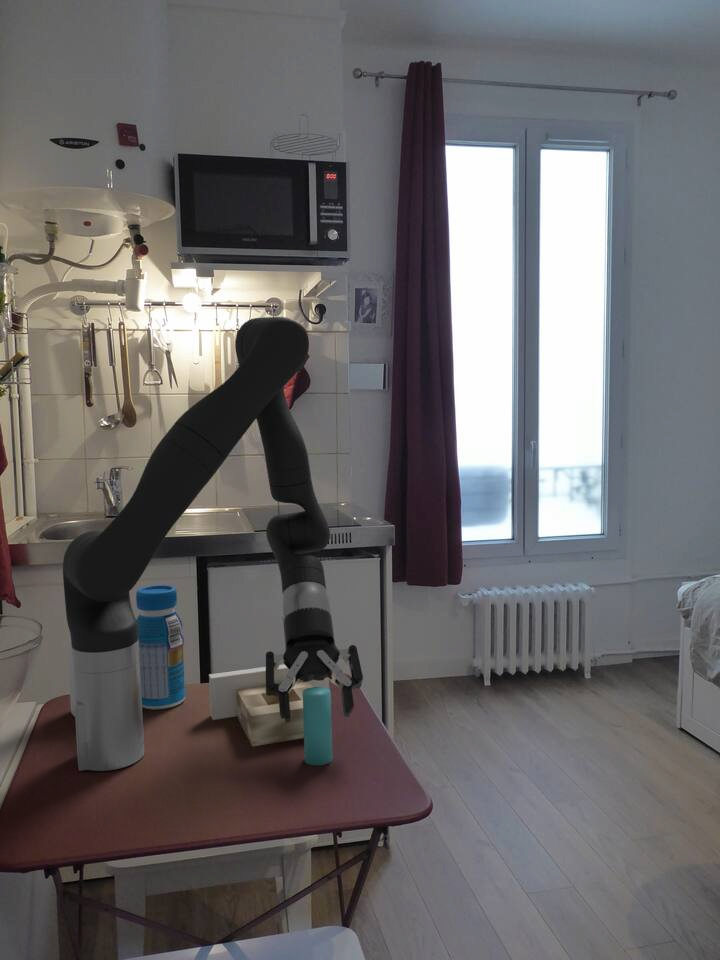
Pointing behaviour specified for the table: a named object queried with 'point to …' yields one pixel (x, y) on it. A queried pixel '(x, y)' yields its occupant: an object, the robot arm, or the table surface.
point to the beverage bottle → (160, 647)
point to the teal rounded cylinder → (317, 725)
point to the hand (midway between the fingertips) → (317, 717)
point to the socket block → (270, 715)
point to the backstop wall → (242, 687)
